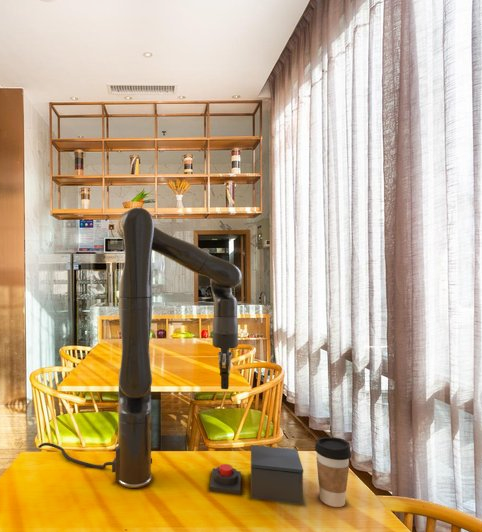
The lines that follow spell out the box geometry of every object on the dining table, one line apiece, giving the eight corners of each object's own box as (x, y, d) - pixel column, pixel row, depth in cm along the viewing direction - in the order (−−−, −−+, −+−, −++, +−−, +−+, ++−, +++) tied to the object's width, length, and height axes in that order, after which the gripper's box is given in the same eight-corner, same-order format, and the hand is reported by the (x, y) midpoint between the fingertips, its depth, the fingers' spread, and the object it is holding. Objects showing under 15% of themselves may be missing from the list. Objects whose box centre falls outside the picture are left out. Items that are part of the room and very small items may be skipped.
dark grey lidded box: (302, 504, 100) (302, 473, 100) (251, 498, 102) (251, 468, 102) (296, 480, 111) (297, 452, 111) (250, 475, 114) (250, 447, 114)
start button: (218, 476, 108) (218, 469, 108) (219, 469, 112) (219, 463, 112) (232, 477, 107) (232, 471, 107) (232, 470, 111) (232, 464, 111)
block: (209, 491, 105) (209, 479, 105) (212, 472, 115) (212, 461, 115) (240, 495, 104) (240, 483, 104) (241, 475, 113) (241, 464, 113)
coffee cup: (354, 512, 97) (355, 450, 97) (317, 507, 98) (318, 447, 98) (345, 493, 105) (346, 436, 105) (311, 489, 107) (312, 433, 107)
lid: (303, 473, 99) (303, 470, 99) (251, 467, 101) (251, 464, 101) (297, 452, 111) (297, 449, 111) (250, 447, 114) (250, 444, 114)
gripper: (214, 327, 127) (214, 381, 127) (210, 334, 114) (210, 394, 114) (238, 328, 125) (238, 383, 125) (237, 335, 112) (237, 396, 112)
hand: (224, 388), depth 119 cm, fingers closed
